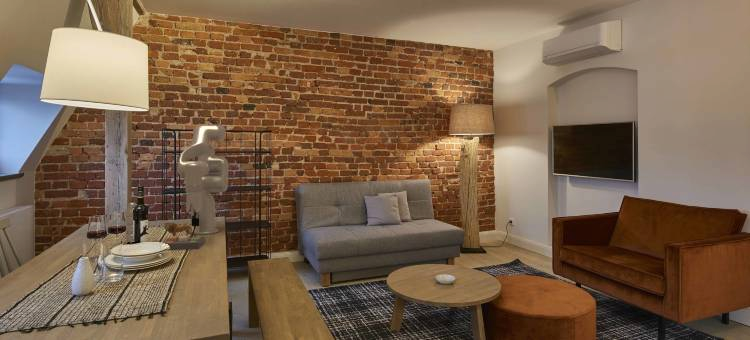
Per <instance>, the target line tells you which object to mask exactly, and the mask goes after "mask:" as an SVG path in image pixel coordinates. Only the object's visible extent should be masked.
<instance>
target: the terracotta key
mask: <svg viewBox="0 0 750 340" xmlns="http://www.w3.org/2000/svg"><path fill="white" fill-rule="evenodd" d="M179 237H180V236H179V235H176V236H173V235H171V236H170V235H169V236H168V237H166V240H167V241H177V240H179Z"/></svg>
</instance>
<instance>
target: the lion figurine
mask: <svg viewBox="0 0 750 340" xmlns="http://www.w3.org/2000/svg"><path fill="white" fill-rule="evenodd" d="M163 227H164V228H163V229H164V230H165V231H166V232H168V233H169V234H172V236H177V234H178V233H182V232H185V235H184V236H190V237H193V236H196V234H195V233H194V231H193V228H192V226H191V225H189V224H182V225H178V224H177V223H174V222H172V221H166V222H165V223H164V226H163Z"/></svg>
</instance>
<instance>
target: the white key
mask: <svg viewBox="0 0 750 340" xmlns="http://www.w3.org/2000/svg"><path fill="white" fill-rule="evenodd" d="M190 236H191V235H188V236H185V235H181V236H180V235H179V236H178V237H179V241H188V240H189V239H190Z"/></svg>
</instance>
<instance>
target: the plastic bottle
mask: <svg viewBox="0 0 750 340" xmlns="http://www.w3.org/2000/svg"><path fill="white" fill-rule="evenodd" d="M135 206H136V207H137V203H136V202H127V203H126V207H127V209H125V211H124V213H125V215H126V221H125V223H126V222H127V228H126V227H125V228H126V229H125V236H124V239H126V240H125V242H126V241H127V242H132V241H133V207H135ZM127 242H126V243H127Z"/></svg>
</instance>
